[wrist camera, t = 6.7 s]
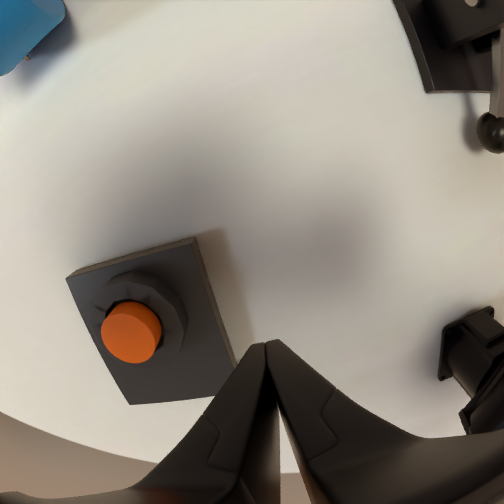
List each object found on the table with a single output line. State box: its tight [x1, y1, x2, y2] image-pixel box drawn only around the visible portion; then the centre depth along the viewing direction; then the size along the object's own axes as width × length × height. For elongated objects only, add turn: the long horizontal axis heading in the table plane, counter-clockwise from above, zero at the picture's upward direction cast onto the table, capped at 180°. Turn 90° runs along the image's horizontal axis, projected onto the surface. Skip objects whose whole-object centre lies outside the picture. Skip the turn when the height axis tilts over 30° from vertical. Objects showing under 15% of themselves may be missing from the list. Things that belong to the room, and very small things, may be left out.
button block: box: [66, 237, 237, 405], centre depth 21 cm, size 12×10×4 cm
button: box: [101, 301, 162, 363], centre depth 18 cm, size 4×4×2 cm
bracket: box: [393, 0, 504, 93], centre depth 12 cm, size 11×9×9 cm
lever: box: [476, 28, 504, 154], centre depth 13 cm, size 13×3×3 cm, turn 14°
